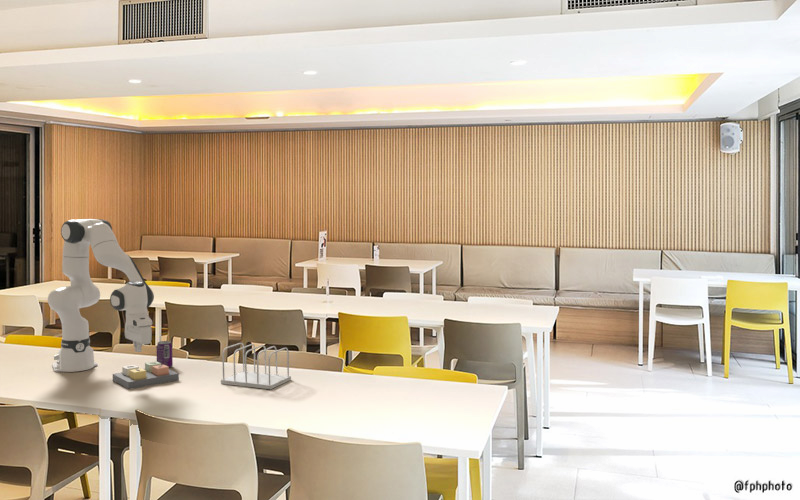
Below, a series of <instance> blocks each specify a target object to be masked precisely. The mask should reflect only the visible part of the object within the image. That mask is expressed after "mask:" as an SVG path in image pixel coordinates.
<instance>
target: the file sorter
mask: <svg viewBox="0 0 800 500" xmlns="http://www.w3.org/2000/svg"><path fill="white" fill-rule="evenodd" d="M239 345H241V347H239V348H236V349H235V350H234V352H233V375H230V376H227V377H225V351H226V350H227V349H230V348H233V347H236V346H239ZM250 346H252V348H250V349H248V350H247V351H246V352H245V349H246V348H249V347H250ZM262 347H263V350H261V351H259V352H258V353H257V356H256V350H257V349H259V348H262ZM273 348H274V351H271V353H270V354H269V355H268V373H267V351H269V350H271V349H273ZM240 350H242V371H240V372H238V373H236V353H237V352H238V351H240ZM284 350H286V361H287V363H286V366H287V367H286V368H287V369H286V370H287V375H285V374H284V375H283V374H278V353H279V352H281V351H284ZM251 351H253V371H247V370H248V369H247V368H248V367H247V365H248V364H247V355H248V354H249V352H251ZM262 353H264V372H259V368H260V367H259V364H260V363H259V361H260V360H259V359H260V358H259V357H260V355H261V354H262ZM289 353H290V352H289V349H288V347H283V348H280V349H277V347H276V345H272V346H269V347H266V346H265V345H264V344H261V345H258V346H255V345H254V344H253V343H250V344H248V345H245V346H244V343H243V342H238V343H236V344H232V345H229V346H226V347H224V348H223V350H222V357H221V358H222V361H221V362H222V379H221V380H220V384H222V385H232V386H239V387H240V386H241V387H248V388H249V387H250V388H257V389H265V390H272V389H275V388H277V387H278V386H281V385H284V384H285V383H287V382H290V381H292V376H291V375H290V354H289ZM273 354H275V374H274V373H271V357H272V355H273Z"/></svg>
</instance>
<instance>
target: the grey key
mask: <svg viewBox="0 0 800 500" xmlns="http://www.w3.org/2000/svg"><path fill="white" fill-rule="evenodd" d="M133 369H140V367H139V366H138V365H136V364H131V365H130V364H129V365H125V366H122V370H121V371H122V374H124V375H126V376H130V375H129V370H133Z"/></svg>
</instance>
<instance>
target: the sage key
mask: <svg viewBox="0 0 800 500" xmlns="http://www.w3.org/2000/svg"><path fill="white" fill-rule="evenodd" d="M158 365H161V363H159V362H157V360H156V361H150V362H144V369H145V370H146V371H148V372H152V366H158Z"/></svg>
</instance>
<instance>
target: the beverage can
mask: <svg viewBox="0 0 800 500" xmlns="http://www.w3.org/2000/svg"><path fill="white" fill-rule="evenodd" d="M156 344H157V345H156V361H157V362H159V363H161V365H166V366H168V367H169V369H170V368H171V367H172V366H173V363H174V362H173V344H172V341H170V340H161V341H157V343H156Z"/></svg>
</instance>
